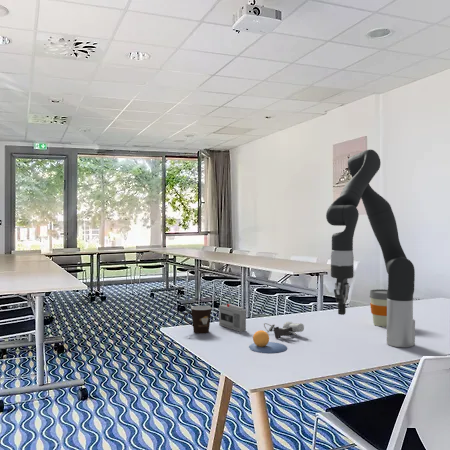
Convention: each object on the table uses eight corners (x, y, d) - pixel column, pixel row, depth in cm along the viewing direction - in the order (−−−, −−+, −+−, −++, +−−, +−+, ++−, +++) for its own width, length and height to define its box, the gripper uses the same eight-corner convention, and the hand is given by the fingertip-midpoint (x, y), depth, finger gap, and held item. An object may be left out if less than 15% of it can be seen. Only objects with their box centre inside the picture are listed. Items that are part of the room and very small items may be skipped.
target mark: (277, 341, 177) (277, 340, 177) (293, 351, 164) (293, 350, 164) (243, 344, 173) (243, 343, 173) (257, 354, 160) (257, 354, 160)
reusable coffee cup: (405, 326, 202) (405, 292, 201) (382, 329, 197) (382, 294, 197) (385, 320, 213) (385, 288, 213) (363, 322, 209) (363, 290, 208)
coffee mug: (211, 329, 196) (211, 305, 196) (211, 334, 188) (211, 309, 188) (184, 329, 196) (184, 306, 196) (183, 334, 187) (183, 310, 187)
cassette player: (219, 325, 204) (219, 302, 204) (224, 324, 206) (224, 302, 206) (240, 332, 192) (240, 308, 191) (245, 331, 193) (245, 307, 193)
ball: (259, 332, 175) (272, 341, 172) (249, 343, 172) (263, 352, 169) (259, 324, 170) (272, 333, 168) (249, 336, 167) (263, 345, 164)
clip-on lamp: (259, 339, 191) (287, 339, 176) (255, 324, 192) (284, 323, 177) (279, 333, 198) (308, 332, 183) (276, 318, 198) (305, 316, 184)
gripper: (335, 261, 163) (335, 309, 163) (326, 264, 151) (325, 316, 152) (357, 262, 160) (356, 311, 160) (349, 265, 148) (348, 319, 148)
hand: (341, 314), depth 156 cm, fingers closed
